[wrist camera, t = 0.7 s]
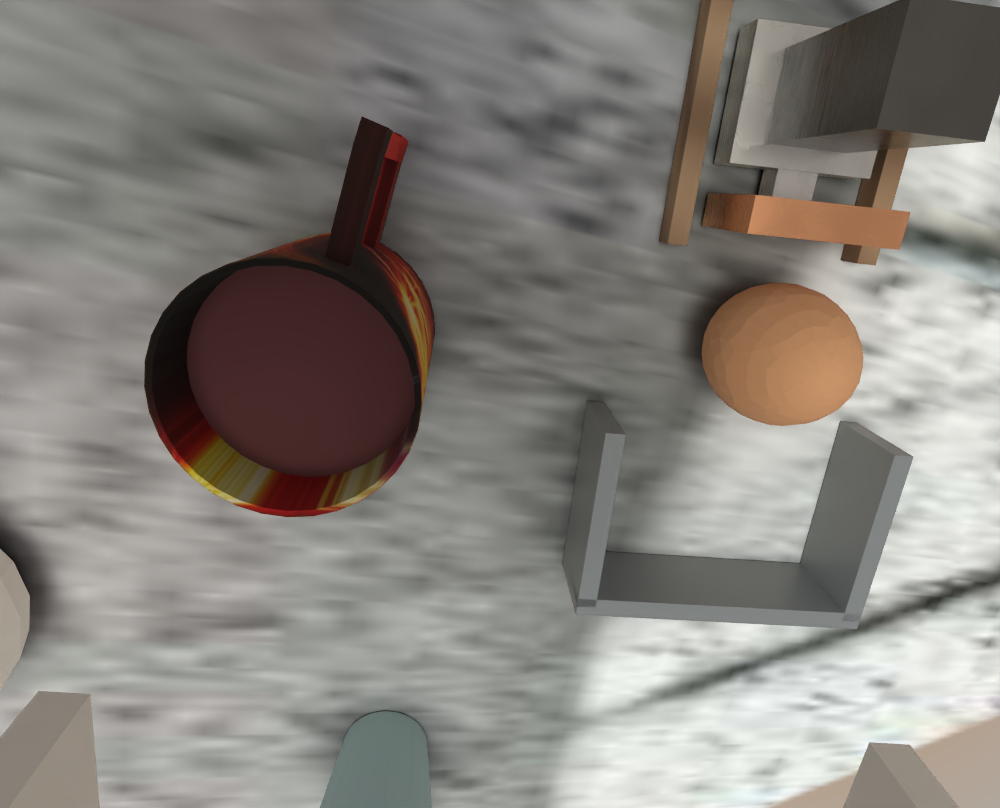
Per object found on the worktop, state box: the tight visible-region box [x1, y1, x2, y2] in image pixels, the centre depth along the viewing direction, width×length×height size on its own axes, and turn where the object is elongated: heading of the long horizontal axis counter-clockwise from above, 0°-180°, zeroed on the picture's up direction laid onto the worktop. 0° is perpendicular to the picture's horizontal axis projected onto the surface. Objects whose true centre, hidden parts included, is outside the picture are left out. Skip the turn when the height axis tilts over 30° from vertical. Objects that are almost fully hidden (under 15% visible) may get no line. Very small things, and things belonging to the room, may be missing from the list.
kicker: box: [702, 0, 1000, 250], centre depth 27 cm, size 9×7×11 cm
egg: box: [702, 283, 863, 426], centre depth 31 cm, size 7×7×9 cm
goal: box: [562, 401, 913, 629], centre depth 36 cm, size 10×16×5 cm, turn 84°
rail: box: [659, 0, 908, 265], centre depth 31 cm, size 14×11×3 cm
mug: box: [144, 117, 435, 517], centre depth 28 cm, size 10×14×12 cm
